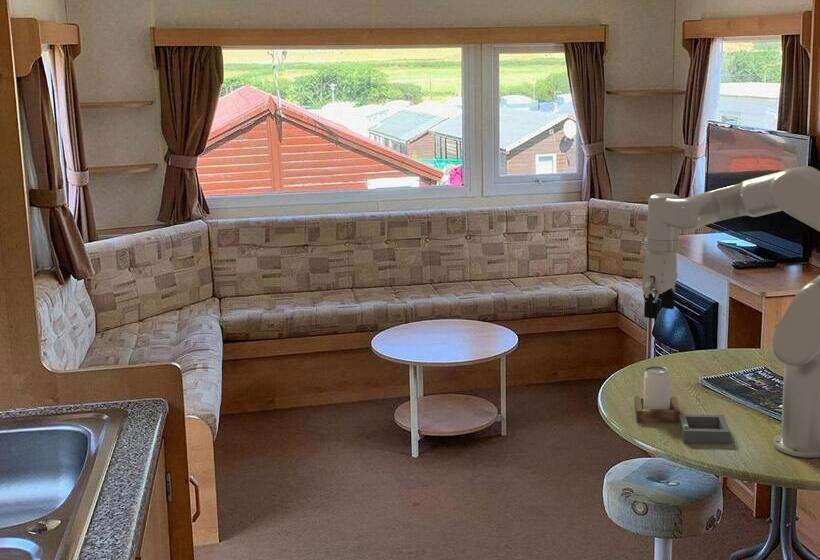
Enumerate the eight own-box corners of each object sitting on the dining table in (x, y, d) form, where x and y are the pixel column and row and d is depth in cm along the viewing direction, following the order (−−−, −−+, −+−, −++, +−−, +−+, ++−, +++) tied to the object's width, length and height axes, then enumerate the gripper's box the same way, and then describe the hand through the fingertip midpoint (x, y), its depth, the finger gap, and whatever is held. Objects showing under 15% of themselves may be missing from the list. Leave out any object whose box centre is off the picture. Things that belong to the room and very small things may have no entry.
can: (651, 421, 235) (652, 375, 232) (638, 412, 241) (639, 367, 238) (675, 417, 236) (675, 372, 233) (661, 408, 242) (662, 364, 239)
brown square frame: (676, 407, 242) (676, 396, 242) (680, 423, 232) (680, 411, 232) (634, 407, 244) (634, 396, 244) (636, 422, 234) (636, 411, 234)
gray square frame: (723, 426, 229) (723, 412, 228) (729, 444, 219) (730, 429, 218) (679, 425, 231) (679, 411, 230) (683, 442, 221) (683, 428, 220)
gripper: (662, 236, 237) (659, 302, 241) (632, 249, 224) (629, 319, 228) (691, 240, 233) (687, 307, 237) (661, 253, 220) (658, 324, 224)
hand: (659, 312), depth 233 cm, fingers open, 9 cm apart
